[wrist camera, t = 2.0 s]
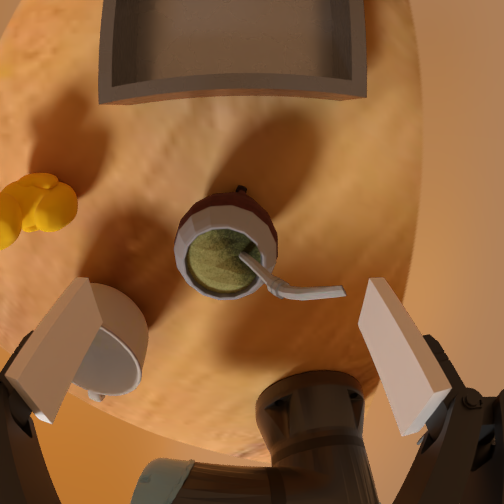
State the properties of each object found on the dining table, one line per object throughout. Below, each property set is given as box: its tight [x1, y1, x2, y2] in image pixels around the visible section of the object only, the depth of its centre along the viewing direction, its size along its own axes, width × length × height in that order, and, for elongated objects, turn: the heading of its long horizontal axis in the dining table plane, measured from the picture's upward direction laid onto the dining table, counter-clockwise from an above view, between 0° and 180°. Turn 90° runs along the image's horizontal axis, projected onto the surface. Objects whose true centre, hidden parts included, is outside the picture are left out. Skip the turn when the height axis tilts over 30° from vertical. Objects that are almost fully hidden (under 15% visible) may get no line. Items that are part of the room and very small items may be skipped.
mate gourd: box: [174, 185, 347, 301], centre depth 18 cm, size 8×8×15 cm
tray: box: [98, 0, 367, 105], centre depth 15 cm, size 14×17×6 cm
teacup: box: [72, 283, 148, 402], centre depth 26 cm, size 14×11×8 cm
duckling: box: [0, 173, 78, 250], centre depth 19 cm, size 11×5×10 cm, turn 82°
